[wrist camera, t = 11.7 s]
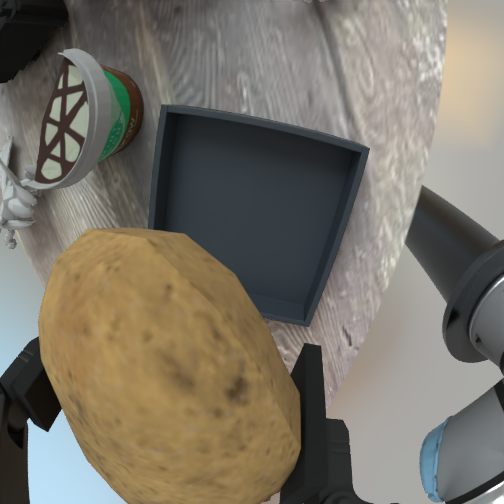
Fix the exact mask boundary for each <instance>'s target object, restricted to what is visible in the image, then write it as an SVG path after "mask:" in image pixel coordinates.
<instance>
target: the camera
mask: <svg viewBox="0 0 504 504" xmlns="http://www.w3.org/2000/svg"><path fill="white" fill-rule="evenodd" d="M68 14H69V13H68V11H67V8H66V6H65V3H64V1H63V0H0V83H6V82H8V80H11V79H12V80H13V79H14V78H15V76H16V74H17V73H18V71H20V70H24V69H25V67H26V66H27V64H29V62H31V61H36V60H37V59H38V58H39V55H40V47H41V46H42V45H43V44H44V42H45V41H46V40H47V38H48V37H49V36H50V35H51V34H52V32H53V31H54V30H55V29H56V28H57V27H59V28H61V27H63V26H64V25H65V24H66V23H67V21H68Z"/></svg>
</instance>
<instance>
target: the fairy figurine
mask: <svg viewBox="0 0 504 504" xmlns="http://www.w3.org/2000/svg"><path fill="white" fill-rule="evenodd" d="M12 142H13V137H12V139H11V140H10V138H9V137H8V140H7V143H5V142H4V146H3V149H2V151H1V153H0V177H1V189H2V194H3V201H2V203H1V206H0V232H1V229H2V228H6V229H8V231H9V232H8V233H7V235H6V236H5V239H4V241H5V244H6V245H8V247H9V249H14V248H15V247H16V244H17V243H16V241H15V239H13V235H14V233H15V232H14V230H19V229H22V228H24V227H29V226H31V225H32V223H34V222H36V219H35V220H32V221H31V222H29V221H18V218H19V217H21V218H28V217H31V216H32V215H33V213H34V208H33V206H36V205H34V204H38V203H36V201H37V200H36V199H35V198H34V197H33V195H37V196H39V197H42V196H41V195H42V194H41V192H40V191H39V190H36V188H32V187H30V186H28V185H27V184H28V183H29V182H31V181H33V180H34V179H35V173H36V167H37V165H35V164H31V165H28V166H23V167H21V168H23V169H24V170H25V176H26V177H27V178H28V179H25V180H22V181H20V180H19V179H18V178H17V177H16V176H15V175H14V174H13V173H12V172H11V171H10V169H9V168H8V165H9V159H10V150H11V146H12ZM8 178H9V181H8V183H7V180H8Z"/></svg>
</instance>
